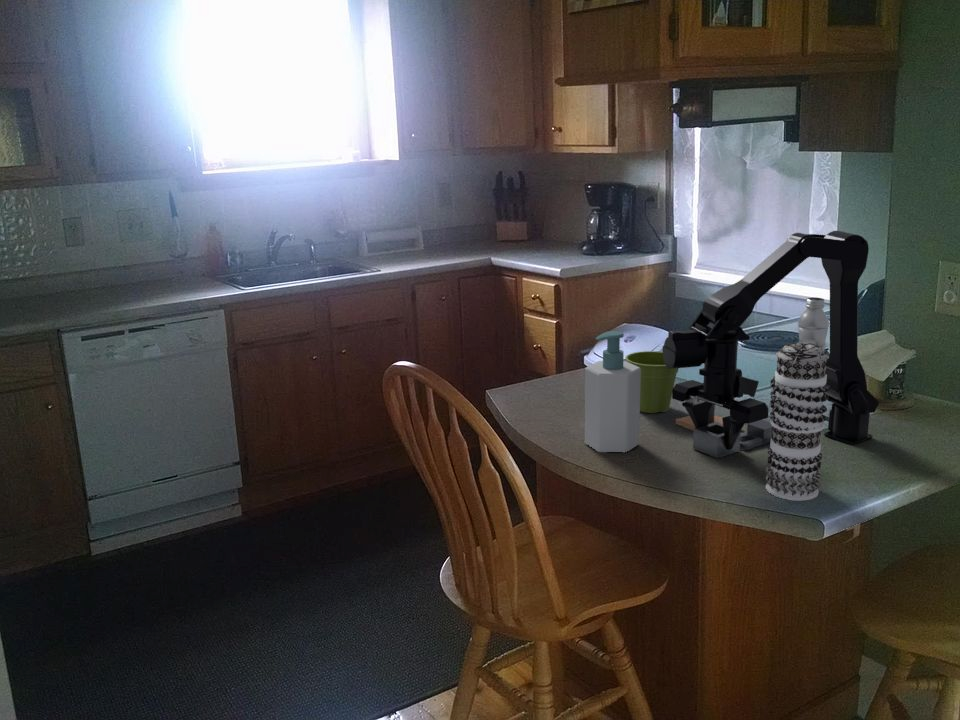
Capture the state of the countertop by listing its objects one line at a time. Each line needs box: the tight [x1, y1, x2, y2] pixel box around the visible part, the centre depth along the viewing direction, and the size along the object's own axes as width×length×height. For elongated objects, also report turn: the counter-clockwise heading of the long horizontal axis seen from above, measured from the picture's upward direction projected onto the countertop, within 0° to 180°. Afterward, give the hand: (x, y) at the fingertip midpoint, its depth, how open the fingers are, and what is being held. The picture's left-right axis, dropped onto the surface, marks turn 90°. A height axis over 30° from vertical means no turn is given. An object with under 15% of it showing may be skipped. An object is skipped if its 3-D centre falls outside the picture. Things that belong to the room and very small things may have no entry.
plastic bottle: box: [797, 296, 830, 353], centre depth 206 cm, size 6×7×20 cm
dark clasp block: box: [740, 419, 773, 452], centre depth 174 cm, size 4×10×3 cm, turn 123°
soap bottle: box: [584, 330, 641, 454], centre depth 172 cm, size 10×9×22 cm
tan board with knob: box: [675, 404, 723, 431], centre depth 183 cm, size 10×8×6 cm
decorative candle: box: [765, 341, 830, 502], centre depth 150 cm, size 9×9×25 cm
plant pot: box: [625, 350, 680, 414], centre depth 194 cm, size 12×12×11 cm
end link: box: [692, 422, 742, 459], centre depth 170 cm, size 6×6×4 cm
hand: (716, 444), depth 171 cm, fingers closed on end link, 6 cm apart
